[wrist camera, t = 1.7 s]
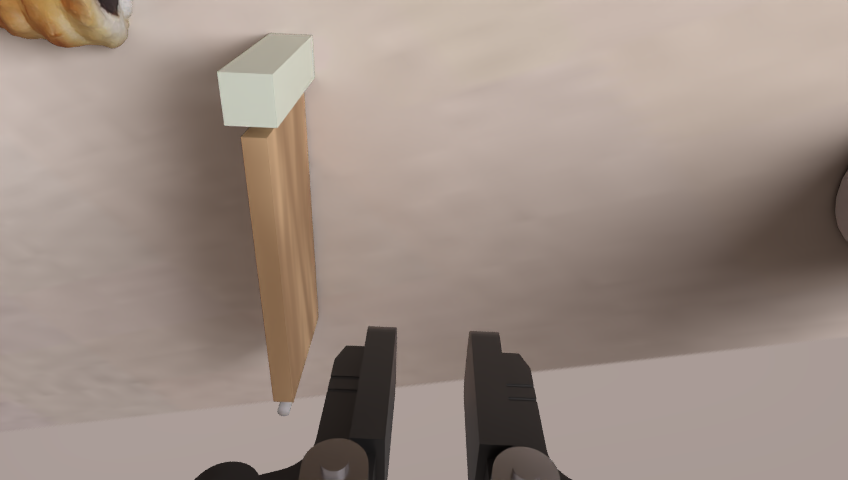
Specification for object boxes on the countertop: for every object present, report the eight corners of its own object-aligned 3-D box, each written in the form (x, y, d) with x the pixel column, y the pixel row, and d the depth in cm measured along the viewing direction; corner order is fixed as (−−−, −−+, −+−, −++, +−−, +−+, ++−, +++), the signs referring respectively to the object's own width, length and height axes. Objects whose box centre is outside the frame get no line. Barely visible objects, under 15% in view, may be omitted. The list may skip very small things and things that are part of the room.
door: (303, 88, 28) (266, 138, 22) (318, 317, 35) (293, 402, 29) (265, 87, 28) (217, 136, 22) (287, 315, 35) (255, 400, 29)
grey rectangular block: (312, 35, 27) (272, 74, 21) (327, 324, 36) (303, 417, 29) (270, 33, 27) (216, 71, 21) (295, 323, 36) (264, 415, 29)
